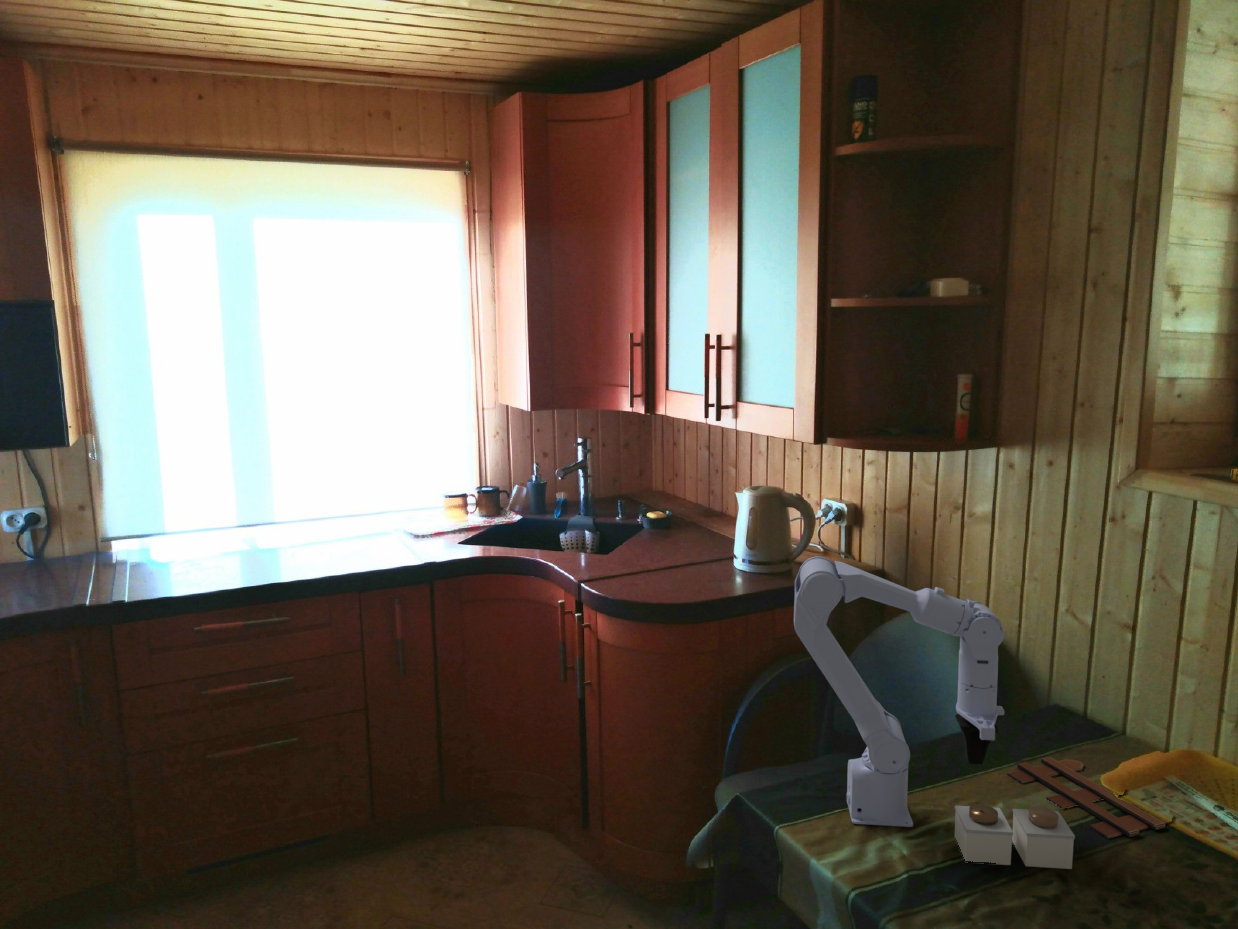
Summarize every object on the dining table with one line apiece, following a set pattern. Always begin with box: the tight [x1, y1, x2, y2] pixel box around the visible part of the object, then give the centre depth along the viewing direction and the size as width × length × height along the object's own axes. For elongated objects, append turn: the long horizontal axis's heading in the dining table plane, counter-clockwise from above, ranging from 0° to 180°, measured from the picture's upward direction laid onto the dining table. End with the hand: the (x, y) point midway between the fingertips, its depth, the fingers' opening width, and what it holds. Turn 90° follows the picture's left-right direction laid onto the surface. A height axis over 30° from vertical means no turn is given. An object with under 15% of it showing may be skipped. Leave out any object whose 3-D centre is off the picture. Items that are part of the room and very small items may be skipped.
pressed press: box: [1012, 806, 1076, 870], centre depth 128 cm, size 7×8×7 cm
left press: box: [954, 805, 1013, 866], centre depth 129 cm, size 7×8×5 cm
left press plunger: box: [969, 803, 998, 825], centre depth 128 cm, size 4×4×6 cm
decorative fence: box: [1006, 756, 1168, 840], centre depth 143 cm, size 23×2×15 cm
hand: (974, 762), depth 136 cm, fingers closed
